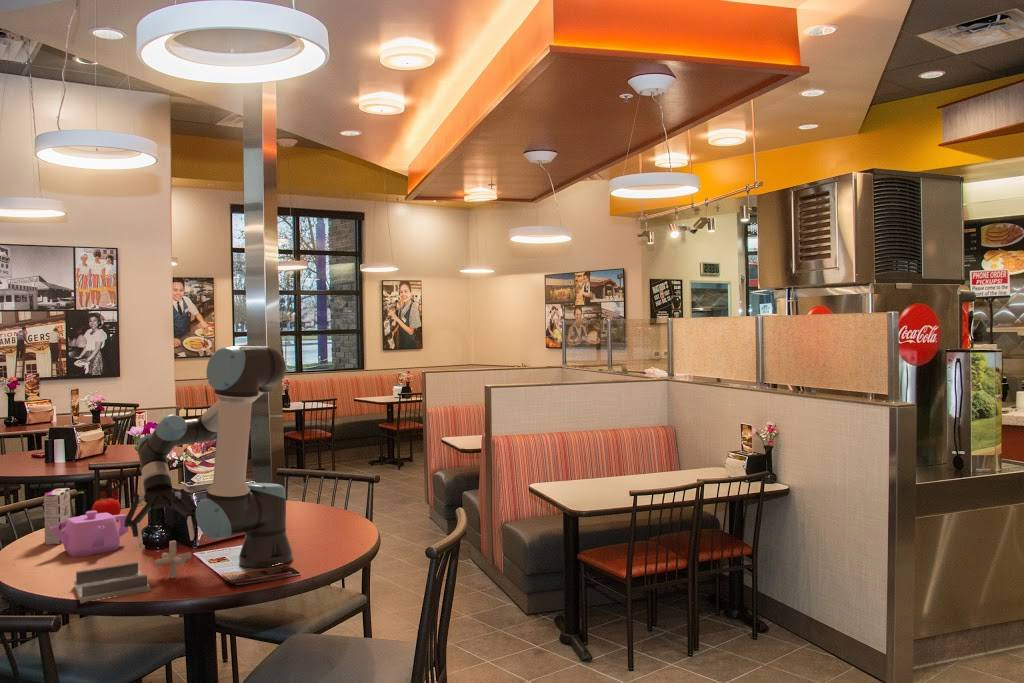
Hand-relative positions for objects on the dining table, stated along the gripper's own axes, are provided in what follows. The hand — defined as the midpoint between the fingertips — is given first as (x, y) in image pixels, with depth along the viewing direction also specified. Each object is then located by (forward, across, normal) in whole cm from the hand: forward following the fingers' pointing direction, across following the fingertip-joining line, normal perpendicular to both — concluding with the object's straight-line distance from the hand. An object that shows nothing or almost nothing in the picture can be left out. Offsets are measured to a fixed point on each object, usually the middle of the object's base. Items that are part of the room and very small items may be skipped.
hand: (167, 541), depth 218 cm
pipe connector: (+10, -1, -4) cm, 10 cm away
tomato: (-51, +6, -65) cm, 83 cm away
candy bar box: (-36, +23, -50) cm, 65 cm away
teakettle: (-22, +15, -35) cm, 44 cm away
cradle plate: (+10, +15, -2) cm, 18 cm away
